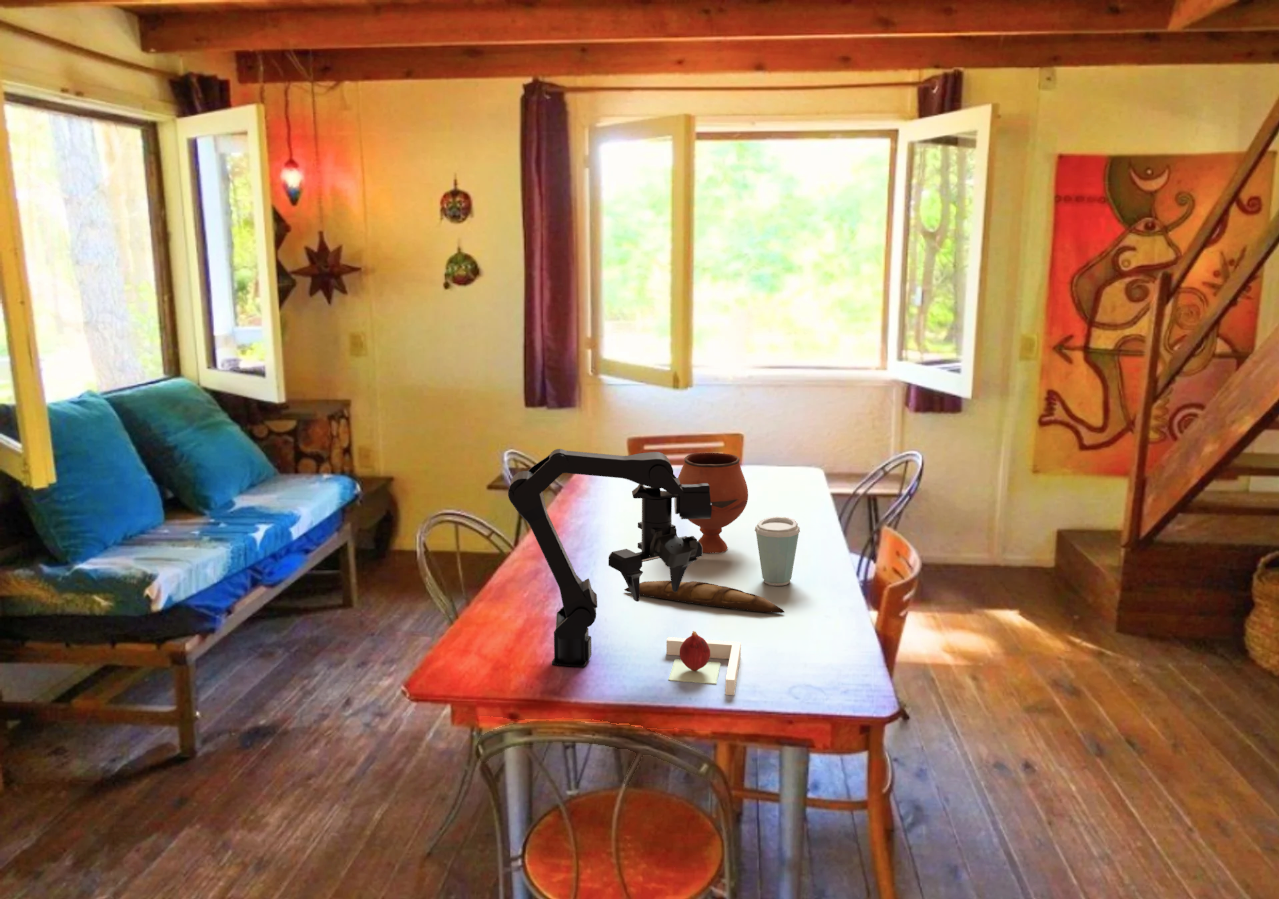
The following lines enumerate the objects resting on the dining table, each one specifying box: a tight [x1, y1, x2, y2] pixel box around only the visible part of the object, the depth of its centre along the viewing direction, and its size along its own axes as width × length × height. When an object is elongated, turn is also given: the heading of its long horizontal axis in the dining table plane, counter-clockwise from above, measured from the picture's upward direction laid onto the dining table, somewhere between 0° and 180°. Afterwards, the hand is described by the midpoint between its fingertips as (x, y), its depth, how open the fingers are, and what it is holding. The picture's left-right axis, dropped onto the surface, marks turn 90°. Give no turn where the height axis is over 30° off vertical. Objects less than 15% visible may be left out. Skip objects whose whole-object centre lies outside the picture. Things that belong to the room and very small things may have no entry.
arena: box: [665, 636, 742, 696], centre depth 181 cm, size 15×17×3 cm
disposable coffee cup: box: [754, 516, 801, 587], centre depth 228 cm, size 11×11×15 cm
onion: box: [679, 630, 711, 671], centre depth 181 cm, size 6×6×8 cm
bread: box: [624, 580, 785, 614], centre depth 215 cm, size 38×5×5 cm, turn 69°
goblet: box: [677, 452, 749, 554], centre depth 251 cm, size 19×19×25 cm
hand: (655, 596), depth 185 cm, fingers open, 9 cm apart
